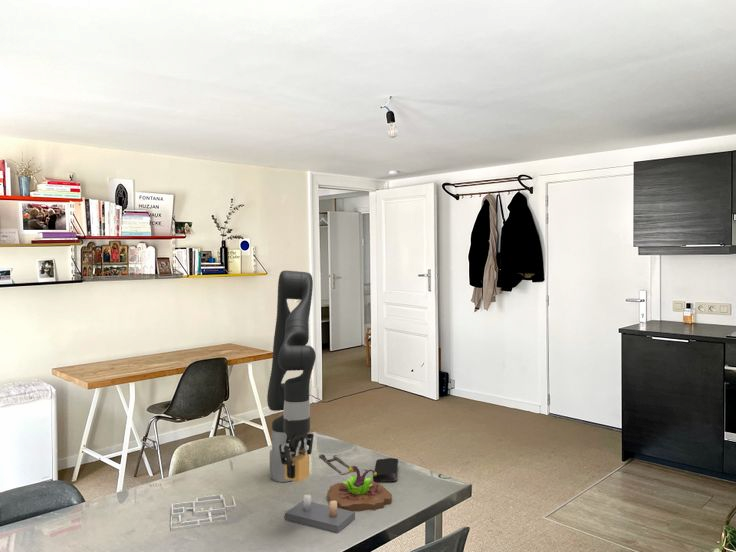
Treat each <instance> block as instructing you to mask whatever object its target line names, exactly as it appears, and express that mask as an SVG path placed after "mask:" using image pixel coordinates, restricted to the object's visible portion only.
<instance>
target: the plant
mask: <svg viewBox="0 0 736 552" xmlns="http://www.w3.org/2000/svg"><path fill="white" fill-rule="evenodd" d="M353 469H354V472H352V471H353ZM359 470H360V469H359V468H358V466H357V465H352V466H350V468H348V472H351V473H356V476H355V475H351V477H350V478H347V481H342V482H338V483H335V484H332V485H330V486H329V488H328V490H327V493H326V500H327V502H328V504H329V505H330V501H332V500H335V501H337V508H340V509H344V510H349V511H353V512H365V511H376V510H378V509H384V507H385V506H386V505H387V506H388V505H391V504H392V503H393V494H392V493H391V492H390V491H389V490H388V489H386V487H385V486H383V485H382V484H381V483H378V482H377V481H374V480H372V477H371V476H369V477H366V476H367V475H368V473H370V472H372V475H374V476H376V475H377V473H376V471H374V470H375V469H374V470H373V469H366V470H367V471H364V472H363V473H362V474H360V473H361V472H360V471H359Z"/></svg>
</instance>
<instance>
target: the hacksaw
mask: <svg viewBox="0 0 736 552" xmlns="http://www.w3.org/2000/svg"><path fill="white" fill-rule="evenodd" d="M319 459H321V460H322V461H324V462H325V463H327V464H328V465H329V466H330V467H331V468H332V469H334V471H336V472H337V473H338V474H340V476H346V475H348V474H350V473H355V472H354V469H353V471H352V472H349V471H347V472H344V473H342V471H341V470H340V469H338V468H337V467H336V466H335V465H334V464H332V462H334V461H337V462H338V463H340V464H341V465H342V466H343V467H345V468H347V469H349V468H350V467H351V466H349V465H348V464H347V463H346V462H344V461H343V460H341V458H340V455H339V454H335V455H333V457H332V458H330V459H327V457H326V455H325V454H320V455H319ZM364 470H365V471H364V472H366V471H367V470H368V469H364Z"/></svg>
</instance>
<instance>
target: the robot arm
mask: <svg viewBox="0 0 736 552" xmlns="http://www.w3.org/2000/svg"><path fill="white" fill-rule="evenodd" d="M313 284H314V280H313V276H312V274H311V273H310V272H307V271H297V270H282V271H280V273H279V277H278V283H277V299H276V300H277V305H276V319H275V326H274V327H275V328H274V336H273V343H272V344H273V346H272V360H271V362H272V363H271V371H270V377H269V382H268V387H267V395H266V398H267V399H266V401H267V406H268V409H269V410H271V411H273V412H278V411H283V413H282V415H281V416H279V417H277V418H275V419H273V420H272V422H271V449H270V450H269V478H270V479H272V480H273V481H275V482H280V483H288V482H293V481H292V480H288V479H285V468H284V464H285V465H287V477H288V478H292V479H293V478H295V460H296V457H298V454H304V455H309V456H310V455H311V454H312V450H313V444H314V433H311V432H310V431H311V405H310V383H311V376H312V373H313V369H314V365H315V362H316V358H317V357H316V351H315V348H314V347H312V346H311V345H307V344H308V343H309V340H310V335H309V333H310V332H309V330H310V329H309V328H310V327H309V325H310V324H309V322H310V312H311V305H312V298H313V297H312V296H313V287H314V285H313ZM287 300H298V301H300V302H299V303H298V304H297V306H295V307H294V308H293V309H292V310H291V311H290V308H289V304H288V301H287ZM290 371H302V373H301V374H300V375H299V376H295V377H292V378H288V379H286V380H285V381H284V382H283V379H284V377H285V375H286V374H287V372H290ZM293 453H294V454H293ZM290 456H292V461H291V459H290ZM285 458H286V460H285Z"/></svg>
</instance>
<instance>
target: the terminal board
mask: <svg viewBox="0 0 736 552" xmlns="http://www.w3.org/2000/svg"><path fill="white" fill-rule="evenodd" d="M284 513H285V514H284V520H286V521H289V522H293V523H297V524H301V525H305V526H309V527H312V528H316V529H321V530H325V531H328V532H333V533H336V534H339V533H340V532H341V531H342V530H344V529H345V528H346V527H347V526H349V525H350V524H351V523H352V522H353V521H354V520H355V519H356V511H349V510H344V509H340V508H337V501H335V500H332V501H330V504H329V505H327V504H321V503H317V502H313V501H312V495H311V494H304V495H303V500H302V501H301V502H299V503H298V504H296V505H294V506H293V507H291V508H290V509H289V510H287V511H285V512H284Z"/></svg>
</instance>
